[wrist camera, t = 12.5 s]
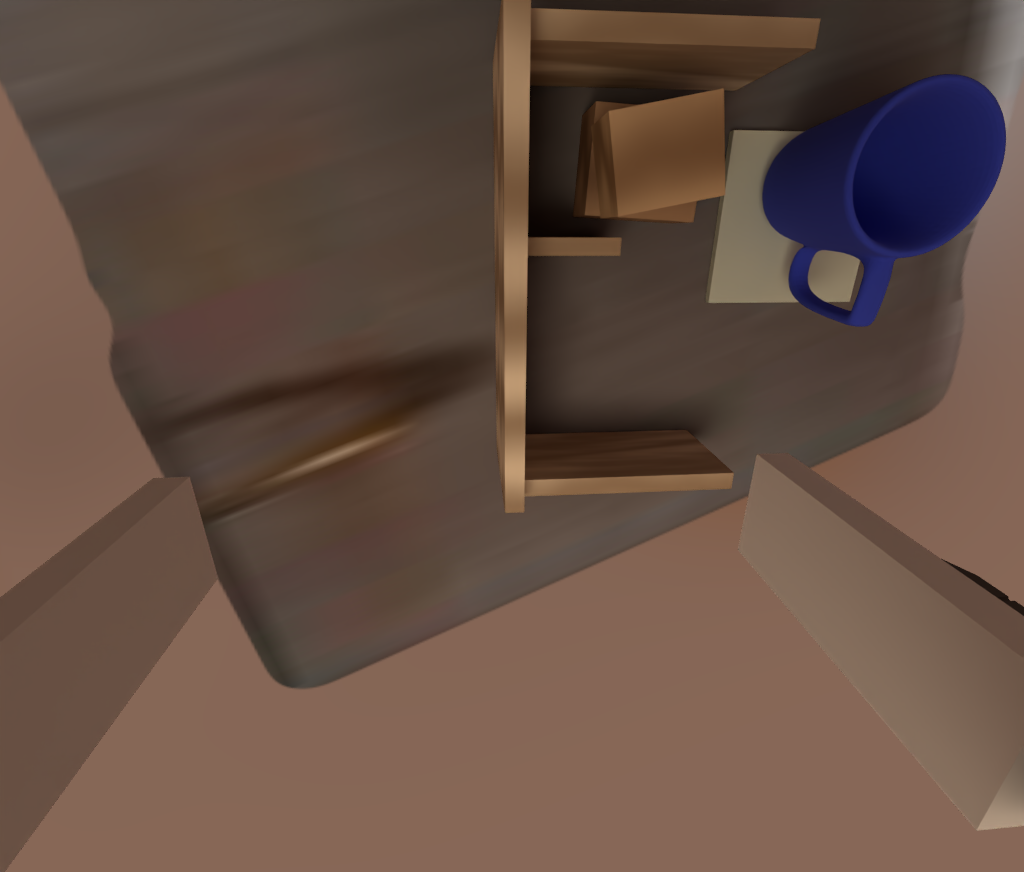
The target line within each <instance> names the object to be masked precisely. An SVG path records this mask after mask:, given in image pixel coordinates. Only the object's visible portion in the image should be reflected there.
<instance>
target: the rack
mask: <svg viewBox="0 0 1024 872" xmlns="http://www.w3.org/2000/svg"><path fill="white" fill-rule="evenodd" d="M820 20H821V19H816V18H788V17H761V16H734V15H707V14H679V13H652V12H625V11H597V10H570V9H543V8H531V0H502V1H501V8H500V15H499V22H498V29H497V36H496V43H495V50H494V58H493V115H494V215H495V315H496V415H497V454H498V462H499V469H500V477H501V485H502V493H503V500H504V508H505V513H513V512H524V496H547V495H574V494H601V493H627V492H654V491H681V490H708V489H731V485H732V480H733V475H734V473H733V472H732V471H731V470H730V469H729V468H728V467H727V466H726V465H725V464H723V463H722V462H721V461H720V460H719V459H718V458H717V457H716V456H715V455H714V454H712V453H711V452H710V451H709V450H708V449H707V448H706V447H705V446H704V445H703V444H701V443H700V442H699V441H698V440H697V439H696V438H695V437H694V436H693V435H691V434H690V433H689V432H688V431H687V430H662V431H626V432H590V433H554V434H525V412H526V338H527V263H528V256H620V250H621V238H615V237H528V189H529V114H530V86H566V87H606V88H647V89H687V90H717V89H722V88H724V90H727V91H736V90H738V89H740V88H742V87H744V86H745V85H747V84H749V83H751V82H753V81H755V80H757V79H759V78H761V77H762V76H764V75H766V74H768V73H770V72H772V71H774V70H776V69H777V68H779V67H781V66H783V65H785V64H787V63H789V62H791V61H793V60H794V59H796V58H798V57H800V56H802V55H804V54H806V53H808V52H809V51H811V50H813V49H815V46H816V41H817V35H818V30H819V25H820Z"/></svg>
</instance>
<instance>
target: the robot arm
mask: <svg viewBox="0 0 1024 872" xmlns="http://www.w3.org/2000/svg"><path fill="white" fill-rule="evenodd" d="M738 550H739V552H740V553H741V554H742V555H743V556H744V557H745V559H746V560H747V561H748V562H749V563H750V565H751V566H752V567H753V568H754V569H755V570H756V572H757V573H758V574H759V575H760V576H761V578H762V579H763V580H764V581H765V582H766V583H767V585H768V586H769V587H770V588H771V589H772V591H773V592H774V593H775V594H776V595H777V596H778V598H779V599H780V600H781V601H782V602H783V603H784V605H785V606H786V607H787V608H788V609H789V611H790V612H791V613H792V614H793V615H794V616H795V618H796V619H797V620H798V621H799V622H800V623H801V625H802V626H803V627H804V628H805V629H806V630H807V632H808V633H809V634H810V635H811V636H812V638H813V639H814V640H815V641H816V642H817V643H818V645H819V646H820V647H821V648H822V649H823V650H824V652H825V653H826V654H827V655H828V656H829V658H830V659H831V660H832V661H833V662H834V663H835V665H836V666H837V667H838V668H839V669H840V670H841V672H842V673H843V674H844V675H845V676H846V678H847V679H848V680H849V681H850V682H851V683H852V685H853V686H854V687H855V688H856V689H857V690H858V692H859V693H860V694H861V695H862V696H863V698H864V699H865V700H866V701H867V702H868V704H869V705H870V706H871V707H872V708H873V709H874V710H875V712H876V713H877V714H878V715H879V716H880V718H881V719H882V720H883V721H884V722H885V724H886V725H887V726H888V727H889V728H890V729H891V731H892V732H893V733H894V734H895V735H896V736H897V738H898V739H899V740H900V741H901V742H902V744H903V745H904V746H905V747H906V748H907V749H908V751H909V752H910V753H911V754H912V755H913V756H914V758H915V759H916V760H917V761H918V762H919V763H920V765H921V766H922V767H923V768H924V769H925V771H926V772H927V773H928V774H929V775H930V776H931V778H932V779H933V780H934V781H935V782H936V783H937V785H938V786H939V787H940V788H941V789H942V791H943V792H944V793H945V794H946V795H947V796H948V798H949V799H950V800H951V801H952V802H953V804H954V805H955V806H956V807H957V808H958V809H959V811H960V812H961V813H962V814H963V815H964V817H965V818H966V819H967V820H968V821H969V822H970V824H971V825H972V826H973V827H974V828H975V829H976V830H986V829H995V828H1006V827H1016V826H1024V607H1023V606H1022V605H1020V604H1018V603H1017V602H1016V601H1010V600H1009V599H1008V596H1007V595H1005V594H1004V593H1002V592H1001V591H999V590H998V589H996V588H995V587H993V586H992V585H990V584H989V583H987V582H986V581H985V580H983V579H981V578H980V577H979V576H977V575H975V574H973V573H970V572H968V571H966V570H964V569H962V568H960V567H958V566H955V565H953V564H951V563H949V562H947V561H945V560H943V559H940V558H939V557H937V556H936V555H934V554H933V553H932V552H930V551H929V550H927V549H926V548H924V547H923V546H922V545H920V544H919V543H917V542H916V541H914V540H913V539H911V538H910V537H908V536H907V535H905V534H904V533H903V532H901V531H900V530H898V529H897V528H895V527H894V526H892V525H891V524H890V523H888V522H887V521H885V520H884V519H882V518H881V517H880V516H878V515H877V514H875V513H874V512H872V511H871V510H869V509H868V508H866V507H865V506H864V505H862V504H861V503H859V502H858V501H856V500H855V499H853V498H852V497H851V496H849V495H847V494H846V493H845V492H843V491H842V490H840V489H839V488H837V487H836V486H835V485H833V484H832V483H830V482H829V481H827V480H826V479H824V478H823V477H822V476H820V475H819V474H817V473H816V472H814V471H813V470H811V469H810V468H809V467H807V466H806V465H804V464H803V463H801V462H800V461H798V460H797V459H795V458H794V457H793V456H791V455H790V454H788V453H772V454H757V457H756V462H755V467H754V472H753V477H752V482H751V487H750V492H749V497H748V502H747V507H746V512H745V517H744V522H743V527H742V532H741V538H740V543H739V548H738ZM217 579H218V577H217V573H216V569H215V566H214V562H213V559H212V555H211V552H210V548H209V545H208V541H207V537H206V534H205V530H204V527H203V523H202V520H201V516H200V513H199V509H198V505H197V502H196V498H195V495H194V491H193V488H192V484H191V481H190V477H173V478H153V479H152V480H150V481H149V482H148V483H147V484H146V485H144V486H143V487H142V488H140V489H139V490H138V491H136V492H135V493H134V494H133V495H131V496H130V497H129V498H127V499H126V500H125V501H123V502H122V503H121V504H120V505H119V506H117V507H116V508H114V509H113V510H112V511H111V512H109V513H108V514H107V515H106V516H104V517H103V518H102V519H100V520H99V521H98V522H97V523H95V524H94V525H93V526H91V527H90V528H89V529H88V530H86V531H85V532H84V533H82V534H81V535H80V536H79V537H77V538H76V539H75V540H74V541H72V542H71V543H70V544H68V545H67V546H66V547H64V548H63V549H62V550H61V551H60V552H58V553H57V554H55V555H54V556H53V557H52V558H50V559H49V560H48V561H46V562H45V563H44V564H43V565H41V566H40V567H39V568H38V569H36V570H35V571H34V572H32V573H31V574H30V575H29V576H27V577H26V578H25V579H23V580H22V581H21V582H19V583H18V584H17V585H16V586H14V587H13V588H12V589H11V590H9V591H8V592H7V593H5V594H4V595H3V596H1V597H0V872H5V871H6V870H7V868H8V867H9V865H10V864H11V862H12V861H13V860H14V859H15V857H16V856H17V854H18V853H19V851H20V850H21V849H22V848H23V846H24V845H25V843H26V842H27V840H28V839H29V838H30V836H31V835H32V834H33V832H34V831H35V830H36V828H37V827H38V825H39V824H40V823H41V821H42V820H43V819H44V817H45V816H46V814H47V813H48V812H49V810H50V809H51V808H52V806H53V805H54V803H55V802H56V801H57V799H58V798H59V796H60V795H61V794H62V792H63V791H64V790H65V788H66V787H67V786H68V784H69V783H70V781H71V780H72V779H73V777H74V776H75V774H76V773H77V772H78V770H79V769H80V768H81V766H82V764H83V763H84V762H85V761H86V759H87V758H88V757H89V755H90V754H91V752H92V751H93V750H94V748H95V747H96V746H97V744H98V743H99V741H100V740H101V739H102V737H103V736H104V735H105V733H106V732H107V730H108V729H109V728H110V726H111V725H112V724H113V722H114V721H115V719H116V718H117V717H118V715H119V714H120V712H121V711H122V710H123V708H124V707H125V706H126V704H127V703H128V701H129V700H130V699H131V697H132V696H133V695H134V693H135V692H136V690H137V689H138V688H139V686H140V685H141V684H142V682H143V681H144V679H145V678H146V677H147V675H148V674H149V673H150V671H151V669H152V668H153V667H154V665H155V664H156V663H157V661H158V660H159V659H160V657H161V656H162V655H163V653H164V652H165V650H166V649H167V648H168V646H169V645H170V644H171V642H172V641H173V639H174V638H175V637H176V635H177V634H178V632H179V631H180V630H181V628H182V627H183V626H184V624H185V623H186V622H187V620H188V619H189V617H190V616H191V615H192V613H193V612H194V611H195V609H196V608H197V606H198V605H199V604H200V602H201V601H202V600H203V598H204V597H205V595H206V594H207V593H208V591H209V590H210V588H211V587H212V586H213V584H214V583H215V582H216V580H217Z"/></svg>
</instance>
